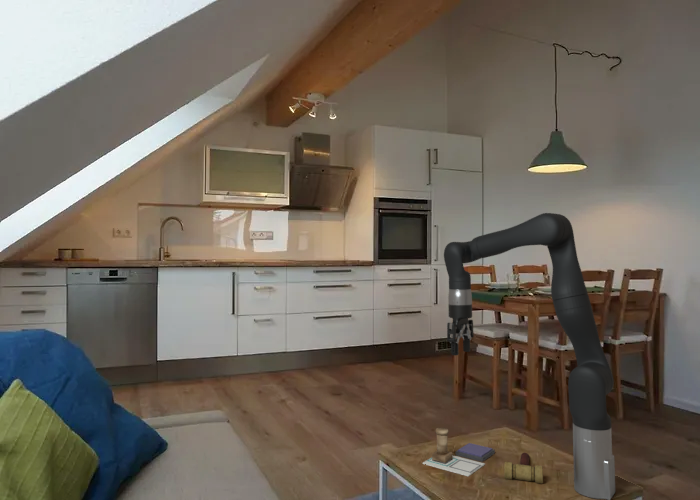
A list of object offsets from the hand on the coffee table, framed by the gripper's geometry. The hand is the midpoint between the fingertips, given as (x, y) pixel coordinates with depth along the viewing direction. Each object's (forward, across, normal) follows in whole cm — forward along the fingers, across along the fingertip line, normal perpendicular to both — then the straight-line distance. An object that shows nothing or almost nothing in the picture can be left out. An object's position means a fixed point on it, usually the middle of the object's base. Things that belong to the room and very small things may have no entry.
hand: (461, 353), depth 163 cm
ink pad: (+31, 0, -4) cm, 32 cm away
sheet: (+31, -12, -3) cm, 33 cm away
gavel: (+32, -2, -21) cm, 38 cm away
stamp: (+31, -12, +1) cm, 33 cm away
